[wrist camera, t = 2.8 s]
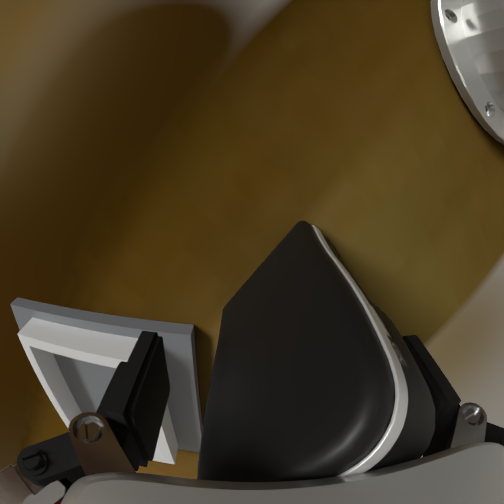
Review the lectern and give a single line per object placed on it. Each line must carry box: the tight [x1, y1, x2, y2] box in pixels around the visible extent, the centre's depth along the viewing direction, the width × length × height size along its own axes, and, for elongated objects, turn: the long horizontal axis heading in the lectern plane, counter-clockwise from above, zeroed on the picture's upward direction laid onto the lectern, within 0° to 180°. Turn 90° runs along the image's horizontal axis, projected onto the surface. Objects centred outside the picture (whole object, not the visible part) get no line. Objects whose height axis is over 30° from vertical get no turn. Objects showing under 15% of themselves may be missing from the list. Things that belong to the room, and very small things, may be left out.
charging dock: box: [11, 298, 203, 464], centre depth 18 cm, size 14×14×3 cm
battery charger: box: [197, 221, 435, 482], centre depth 10 cm, size 7×4×11 cm, turn 142°
